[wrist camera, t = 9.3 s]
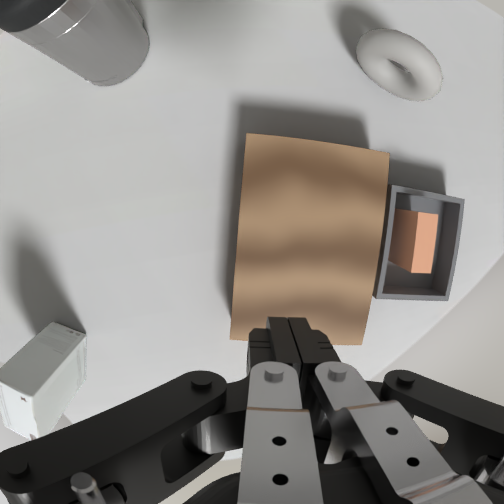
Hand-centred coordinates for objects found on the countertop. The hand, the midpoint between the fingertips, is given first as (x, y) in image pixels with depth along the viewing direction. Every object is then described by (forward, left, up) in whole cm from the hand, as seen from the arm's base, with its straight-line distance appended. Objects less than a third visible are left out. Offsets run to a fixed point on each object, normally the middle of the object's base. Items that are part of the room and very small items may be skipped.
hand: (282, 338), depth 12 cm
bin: (-2, +18, -23) cm, 29 cm away
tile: (-3, +15, -19) cm, 24 cm away
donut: (-21, +13, -23) cm, 34 cm away
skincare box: (+17, -24, -23) cm, 38 cm away
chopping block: (-1, +5, -23) cm, 24 cm away
